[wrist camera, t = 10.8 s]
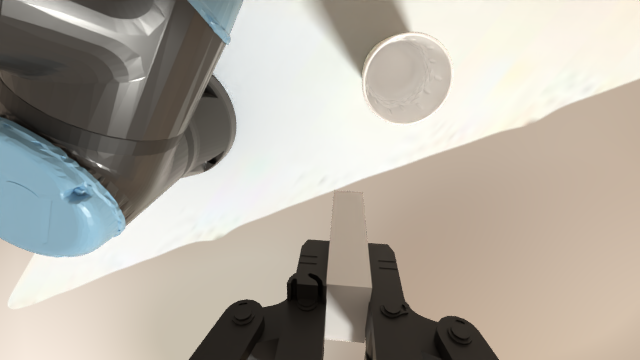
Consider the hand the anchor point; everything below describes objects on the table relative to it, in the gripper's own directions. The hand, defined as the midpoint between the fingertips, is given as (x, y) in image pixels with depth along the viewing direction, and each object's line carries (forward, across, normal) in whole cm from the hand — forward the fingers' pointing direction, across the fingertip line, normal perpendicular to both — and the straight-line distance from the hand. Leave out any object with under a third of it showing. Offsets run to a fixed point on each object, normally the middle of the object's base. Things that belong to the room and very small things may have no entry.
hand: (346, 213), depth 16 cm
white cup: (+25, +5, +5) cm, 26 cm away
